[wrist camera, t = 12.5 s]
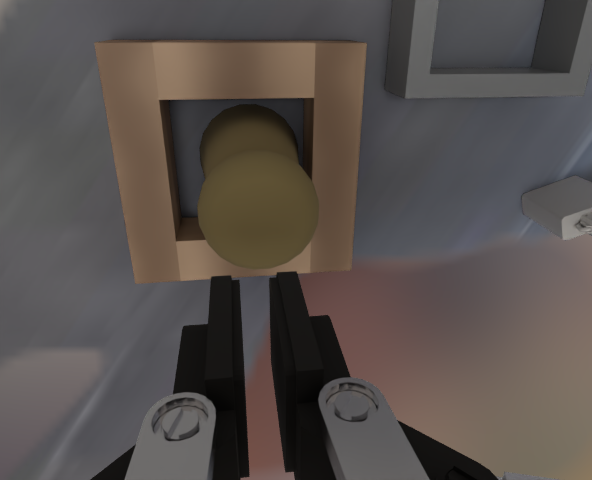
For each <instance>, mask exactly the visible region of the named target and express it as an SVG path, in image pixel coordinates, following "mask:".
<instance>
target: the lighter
mask: <svg viewBox="0 0 592 480" xmlns="http://www.w3.org/2000/svg"><path fill="white" fill-rule="evenodd" d="M521 198H522V208H523V214H524V215H526V216H527V217H529V218H530V219H532V220H533V221H535V222H537V223H538V224H540V225H541V226H543V227H544V228H546V229H547V230H549V231H550V232H552V233H553V234H555V235H557V236H558V237H560V238H561V239H563V240H565V241H566V240H569V239H572V238H575V237H578V236H580V235H583V234H586V233H588V234H589V235H591V236H592V182H590V181H587V180H585V179H583V178H581V177H578V176H576V175H574V176H571V177H569V178H566V179H563V180H560V181H557V182H555V183H552V184H549V185H546V186H543V187H541V188H538V189H535V190H532V191H530V192H527V193H524V194H523V195H522V196H521Z"/></svg>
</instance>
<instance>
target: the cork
mask: <svg viewBox="0 0 592 480" xmlns="http://www.w3.org/2000/svg"><path fill="white" fill-rule="evenodd" d="M200 160H201V166H202V169H203V173H204V176H205V179H206V180H205V181H204V183H203V185H202V189H201V193H200V197H199V201H198V205H197V209H198V220H199V226H200V228H201V230H202V232H203V234H204V237H205V239H206V241H207V243H208V245H209V246H210V247H211V248H212V249H213V250H214V251H215V252H216V253H217V254H218V255H219V256H220V257H221V258H222V259H224V260H226V261H228V262H230V263H232V264H233V265H235V266H239V267H243V268H248V269H252V270H255V269H271V268H274V267H277V266H279V265H282V264H285V263H288V262H289V261H290V260H292V259H293V258H295V257H296V256H298V255H299V254H300V253H302V251H303V250H304V249H305V248H306V246H307V245H308V244H309V243H310V241H311V240H312V238H313V235H314V233H315V230H316V227H317V225H318V219H319V200H318V196H317V193H316V190H315V187H314V184H313V182H312V181H311V179H310V178H309V176H308V175H307V174H306V172H305V171H304V170H303V168H302V167H301V166H300V165H299V159H298V145H297V141H296V138H295V135H294V132H293V130H292V129H291V127H290V126H289V125H288V123H287V122H286V120H285V119H284V118H283V117H281V116H280V115H279V114H277V113H276V112H274V111H273V110H272V109H269V108H266V107H263V106H260V105H256V104H243V105H237V106H234V107H231V108H228V109H226V110H224V111H222V112H221V113H220V114H219V115H217V116H216V117H215V118H213V119H212V120H211V122H210V123H209V125H208V126H207V128H206V130H205V131H204V133H203V136H202V140H201V144H200Z"/></svg>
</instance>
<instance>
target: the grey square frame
mask: <svg viewBox="0 0 592 480" xmlns="http://www.w3.org/2000/svg"><path fill="white" fill-rule="evenodd" d="M438 4H439V0H392V11H391V22H390V34H389V45H388V56H387V68H386V79H385V90H386V91H389V92H391V93H393V94H396V95H398V96H400V97H403V98H476V97H548V96H583V95H584V92H585V88H586V84H587V81H588V77H589V73H590V70H591V66H592V0H546V1H545V6H544V10H543V15H542V20H541V24H540V29H539V33H538V38H537V43H536V47H535V52H534V56H533V61H532V66H531V68H430V67H431V60H432V52H433V44H434V36H435V28H436V20H437V12H438Z"/></svg>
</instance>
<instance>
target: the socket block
mask: <svg viewBox="0 0 592 480" xmlns="http://www.w3.org/2000/svg"><path fill="white" fill-rule="evenodd" d="M94 44H95V50H96V55H97V61H98V67H99V73H100V79H101V85H102V91H103V96H104V102H105V108H106V114H107V120H108V126H109V132H110V137H111V143H112V149H113V155H114V161H115V167H116V173H117V178H118V184H119V190H120V196H121V202H122V208H123V214H124V219H125V225H126V231H127V237H128V243H129V249H130V255H131V260H132V266H133V272H134V278H135V284H139V283H155V282H171V281H187V280H203V279H211V276H226V275H231V278H235V277H251V276H267V275H277V272H290V271H297V274H299V273H315V272H331V271H347V270H351V266H352V252H353V237H354V222H355V208H356V193H357V179H358V164H359V149H360V135H361V120H362V106H363V91H364V77H365V62H366V47H367V43H363V42H357V41H350V40H107V41H101V42H94ZM259 98H304V121H303V170H304V171H305V172H306V174H307V175H308V176H309V178H310V179H311V181H312V182H313V184H314V187H315V190H316V193H317V196H318V200H319V219H318V225H317V227H316V230H315V233H314V235H313V238H312V240H311V241H310V243H309V244H308V245H307V246H306V248H305V249H304V250H303V251H302V253H300V254H299V255H298V256H296V257H295V258H293V259H292V260H290V261H289V262H288V263H285V264H282V265H279V266H277V267H274V268H271V269H255V270H252V269H248V268H243V267H239V266H235V265H233V264H232V263H230V262H228V261H226V260H224V259H222V258H221V257H220V256H219V255H218V254H217V253H216V252H215V251H214V250H213V249H212V248H211V247H210V246H209V245H208V243H207V241H206V239H205V237H204V234H203V232H202V230H201V228H200V226H199V220H198V217H189V218H181V209H180V200H179V191H178V182H177V173H176V164H175V155H174V146H173V137H172V128H171V119H170V110H169V101H168V100H185V99H259Z"/></svg>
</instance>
